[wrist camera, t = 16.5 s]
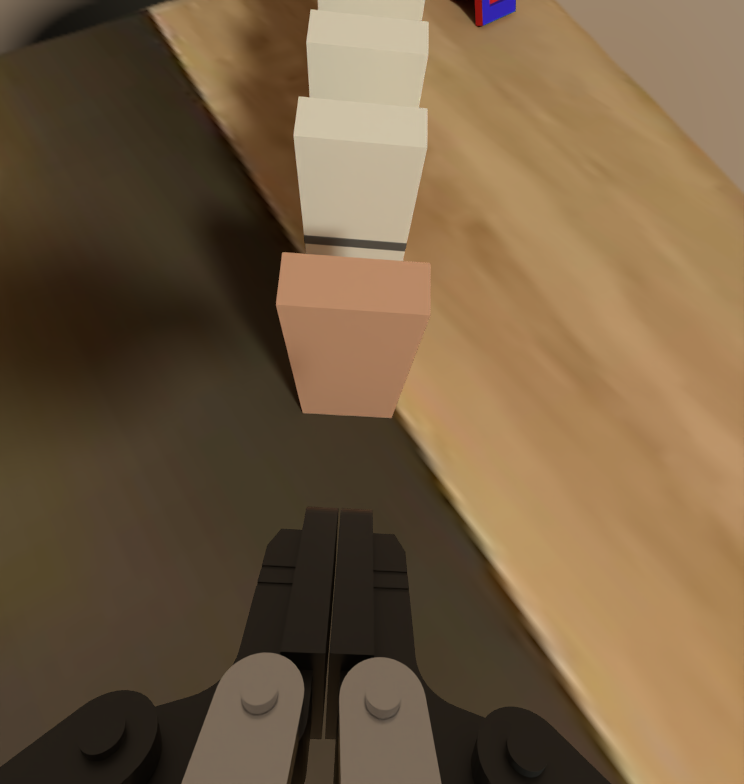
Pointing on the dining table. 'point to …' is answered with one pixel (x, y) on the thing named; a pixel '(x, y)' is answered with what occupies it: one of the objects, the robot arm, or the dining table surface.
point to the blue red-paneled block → (492, 10)
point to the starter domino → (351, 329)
